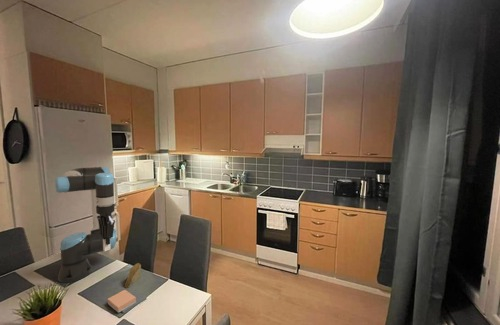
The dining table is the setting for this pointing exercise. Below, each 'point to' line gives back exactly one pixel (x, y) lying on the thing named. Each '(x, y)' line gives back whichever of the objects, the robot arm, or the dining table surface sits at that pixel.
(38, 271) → the dining table surface
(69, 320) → the dining table surface
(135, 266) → the rock
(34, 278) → the dining table surface
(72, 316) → the dining table surface
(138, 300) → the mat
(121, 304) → the tile
